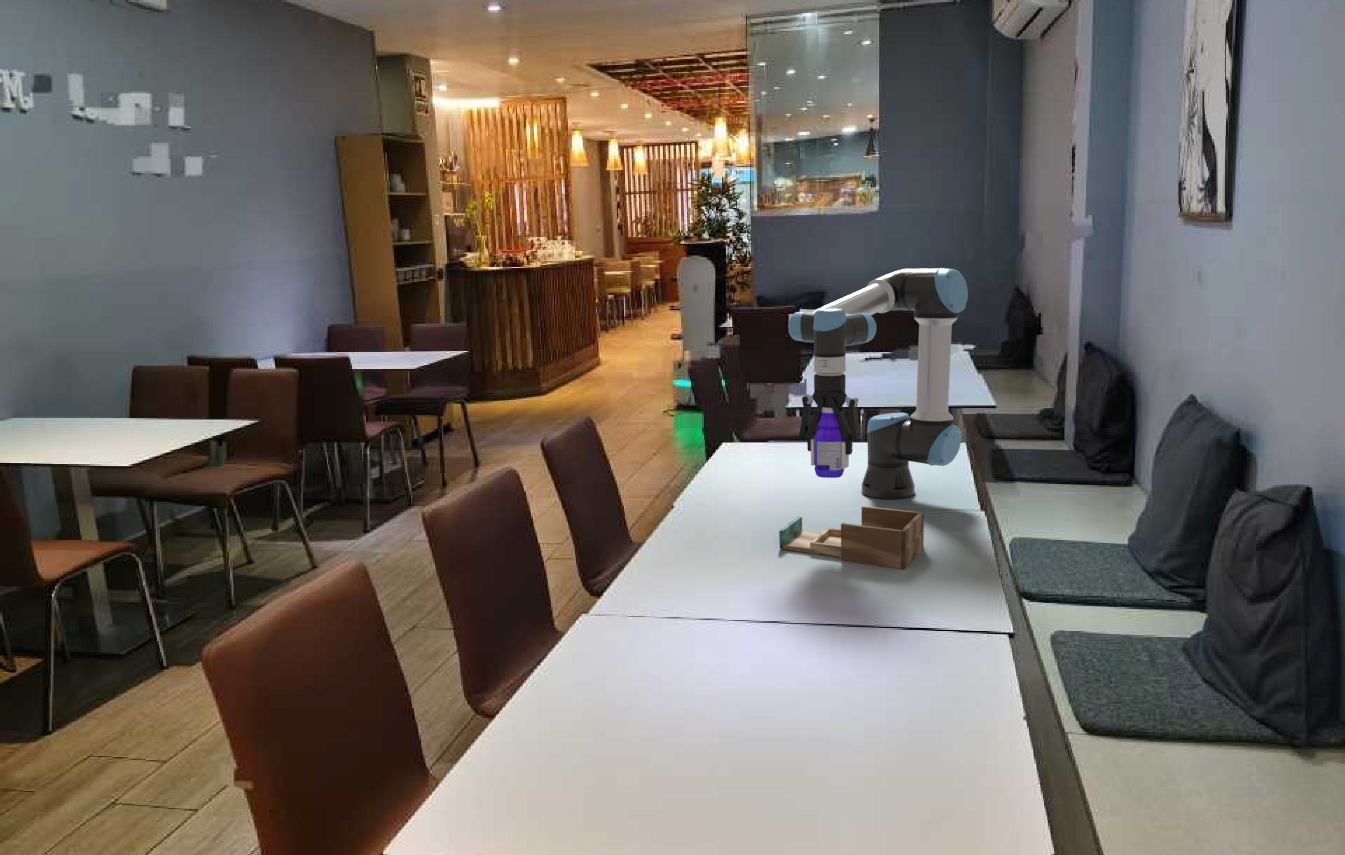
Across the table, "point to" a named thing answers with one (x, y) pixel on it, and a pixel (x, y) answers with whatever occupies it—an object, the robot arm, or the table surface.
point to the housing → (883, 537)
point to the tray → (810, 539)
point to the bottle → (828, 446)
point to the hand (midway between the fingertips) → (829, 465)
